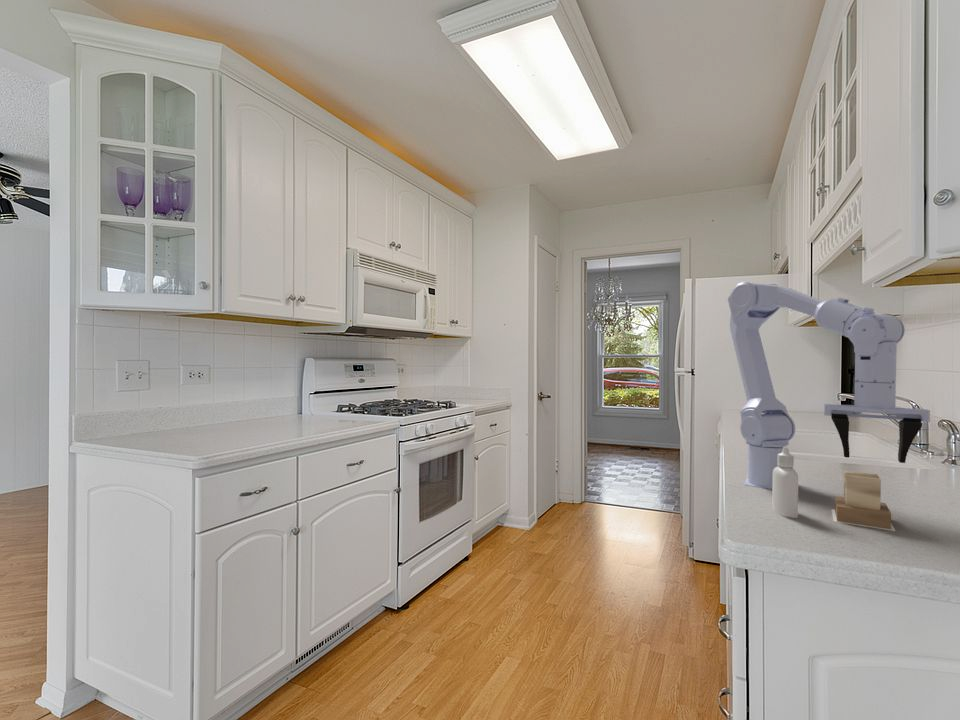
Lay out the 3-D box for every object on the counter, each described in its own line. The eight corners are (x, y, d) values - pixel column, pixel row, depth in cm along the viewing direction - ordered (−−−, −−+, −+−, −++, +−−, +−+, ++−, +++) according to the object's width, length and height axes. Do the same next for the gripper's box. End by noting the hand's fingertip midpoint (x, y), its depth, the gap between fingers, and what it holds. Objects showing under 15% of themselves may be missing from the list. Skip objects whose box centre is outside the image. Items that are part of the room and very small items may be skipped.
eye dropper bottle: (801, 514, 89) (803, 446, 89) (796, 521, 85) (797, 450, 85) (773, 508, 92) (774, 443, 92) (766, 516, 88) (767, 447, 88)
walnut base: (835, 510, 90) (835, 496, 90) (885, 517, 86) (885, 503, 86) (837, 521, 84) (837, 506, 84) (890, 529, 80) (891, 513, 80)
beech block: (843, 499, 88) (844, 470, 88) (876, 503, 86) (876, 474, 86) (846, 505, 84) (846, 475, 84) (880, 510, 82) (880, 479, 82)
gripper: (825, 381, 89) (824, 457, 89) (934, 384, 81) (932, 468, 81) (824, 380, 95) (823, 451, 95) (925, 383, 87) (924, 461, 87)
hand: (873, 459), depth 89 cm, fingers open, 7 cm apart
